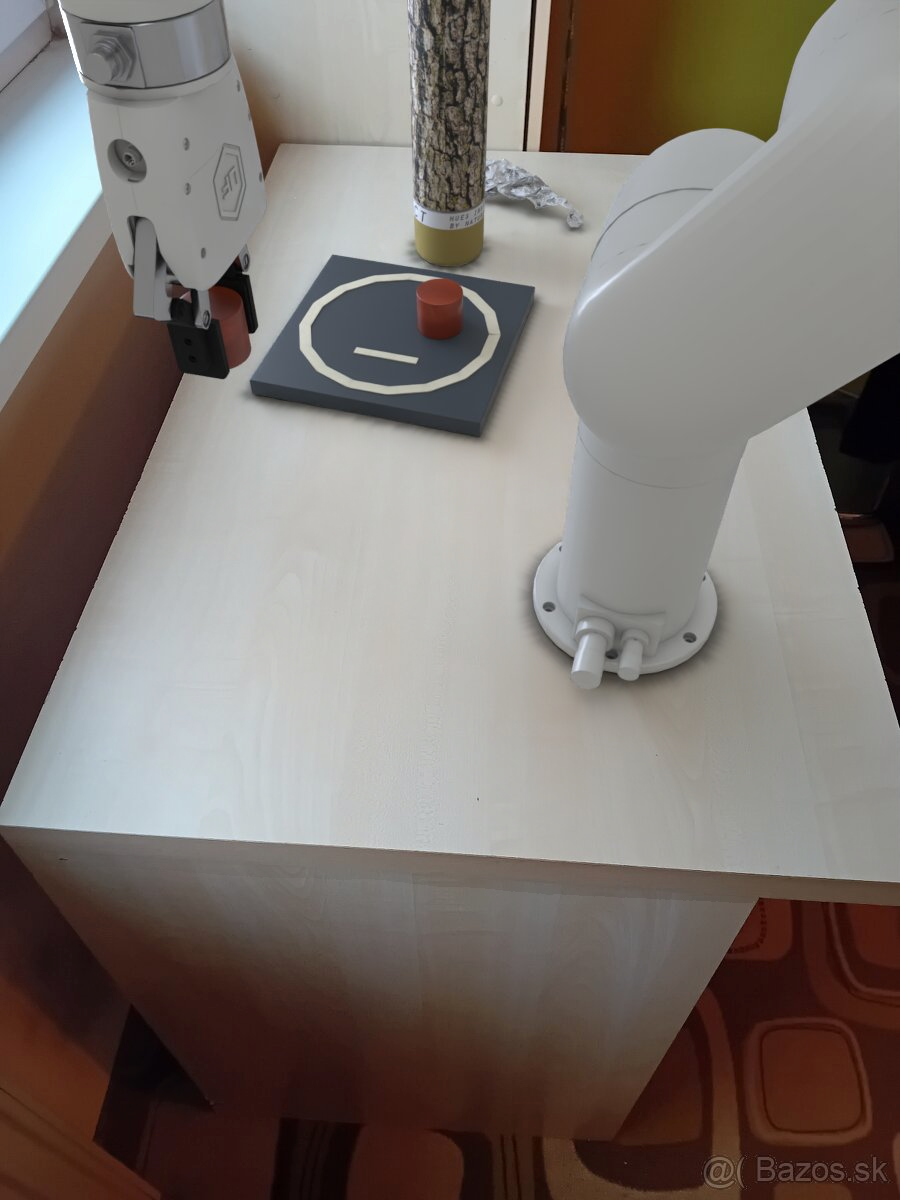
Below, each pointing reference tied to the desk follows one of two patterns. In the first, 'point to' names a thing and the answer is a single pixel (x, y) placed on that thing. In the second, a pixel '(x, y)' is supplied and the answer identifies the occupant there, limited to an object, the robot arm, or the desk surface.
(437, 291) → the eye disc
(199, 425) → the desk surface
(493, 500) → the desk surface
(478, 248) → the paper tube
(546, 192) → the crumpled aluminium foil
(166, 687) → the desk surface
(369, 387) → the face board
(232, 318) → the eye disc
